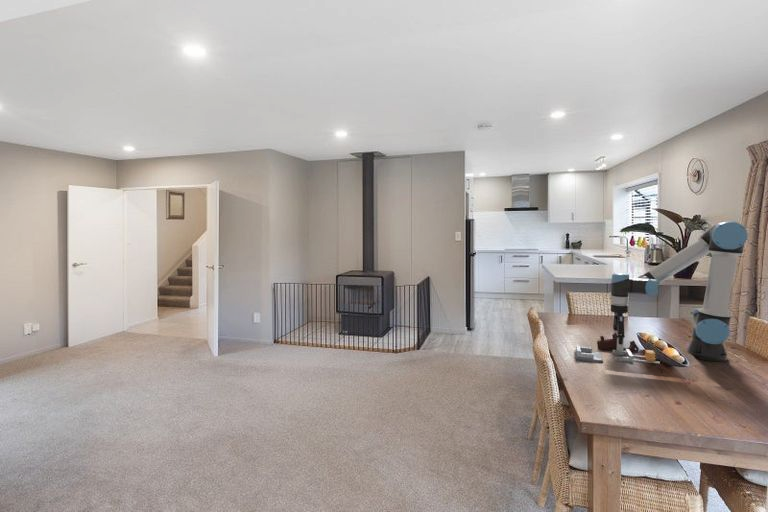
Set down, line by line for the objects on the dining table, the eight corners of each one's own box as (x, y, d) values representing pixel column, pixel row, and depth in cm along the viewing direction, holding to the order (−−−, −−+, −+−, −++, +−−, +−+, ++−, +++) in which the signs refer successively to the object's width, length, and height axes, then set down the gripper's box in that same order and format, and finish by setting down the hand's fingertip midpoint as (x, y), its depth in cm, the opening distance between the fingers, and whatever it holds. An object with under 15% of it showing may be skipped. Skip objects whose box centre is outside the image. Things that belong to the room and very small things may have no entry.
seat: (654, 359, 192) (654, 350, 192) (661, 368, 181) (661, 359, 180) (574, 352, 205) (574, 343, 205) (576, 360, 193) (576, 351, 193)
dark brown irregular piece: (640, 350, 198) (634, 330, 201) (602, 355, 202) (597, 335, 205) (637, 351, 203) (631, 331, 206) (600, 356, 207) (594, 337, 211)
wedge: (652, 358, 189) (652, 350, 189) (655, 362, 185) (655, 353, 184) (644, 358, 190) (645, 349, 190) (647, 361, 186) (647, 353, 186)
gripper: (607, 299, 216) (606, 339, 217) (614, 308, 193) (612, 353, 195) (624, 300, 213) (622, 340, 214) (632, 309, 190) (630, 354, 192)
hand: (617, 346), depth 205 cm, fingers open, 12 cm apart
